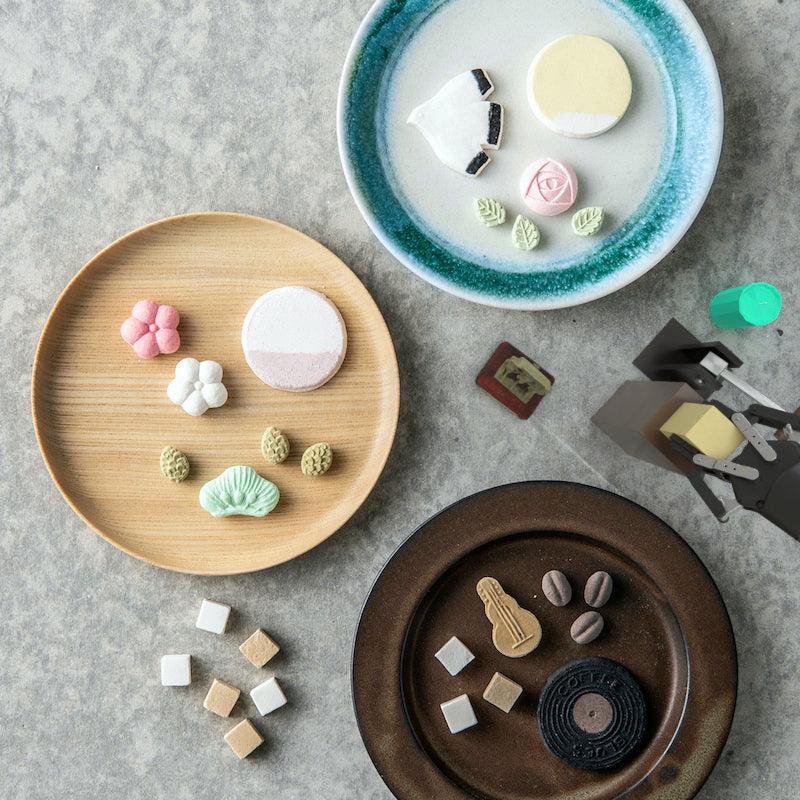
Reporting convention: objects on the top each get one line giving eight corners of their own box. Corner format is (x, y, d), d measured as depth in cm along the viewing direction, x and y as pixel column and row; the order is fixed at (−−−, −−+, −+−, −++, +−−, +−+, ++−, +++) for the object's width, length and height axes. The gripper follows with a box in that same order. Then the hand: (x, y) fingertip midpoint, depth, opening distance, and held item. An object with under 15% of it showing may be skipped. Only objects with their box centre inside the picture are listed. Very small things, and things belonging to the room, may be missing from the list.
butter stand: (663, 415, 108) (735, 428, 84) (626, 454, 108) (688, 478, 84) (624, 379, 108) (685, 382, 84) (588, 418, 108) (638, 432, 84)
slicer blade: (812, 412, 91) (816, 408, 89) (783, 444, 92) (786, 441, 89) (717, 347, 97) (718, 341, 95) (690, 377, 97) (690, 372, 95)
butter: (715, 430, 84) (747, 436, 76) (689, 458, 84) (719, 467, 76) (684, 402, 84) (713, 405, 76) (658, 429, 84) (684, 435, 76)
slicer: (729, 370, 108) (776, 370, 94) (688, 415, 108) (729, 421, 94) (670, 317, 107) (708, 309, 94) (629, 362, 108) (661, 361, 94)
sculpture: (470, 383, 108) (479, 385, 93) (501, 340, 108) (516, 335, 93) (522, 421, 108) (540, 429, 93) (554, 377, 108) (577, 379, 93)
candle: (702, 326, 107) (739, 320, 95) (710, 286, 107) (748, 276, 95) (742, 333, 107) (783, 328, 95) (749, 294, 107) (792, 284, 95)
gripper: (880, 444, 65) (725, 357, 77) (771, 558, 66) (634, 454, 78) (884, 475, 71) (738, 389, 82) (783, 580, 71) (653, 480, 83)
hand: (688, 421), depth 80 cm, fingers closed on butter, 4 cm apart
